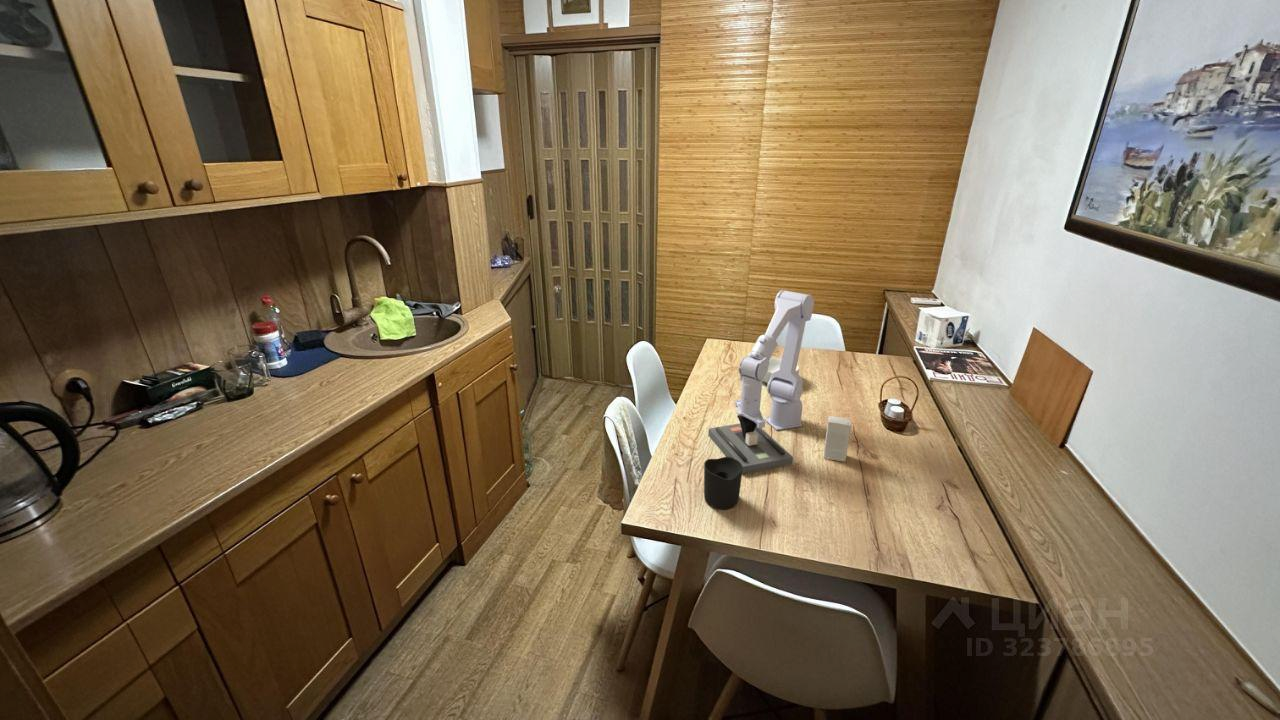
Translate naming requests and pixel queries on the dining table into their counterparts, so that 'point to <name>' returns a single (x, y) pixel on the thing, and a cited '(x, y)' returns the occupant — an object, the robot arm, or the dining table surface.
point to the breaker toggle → (751, 438)
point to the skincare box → (837, 438)
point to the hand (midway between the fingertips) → (747, 437)
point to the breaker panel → (750, 448)
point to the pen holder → (722, 482)
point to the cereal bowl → (774, 368)
